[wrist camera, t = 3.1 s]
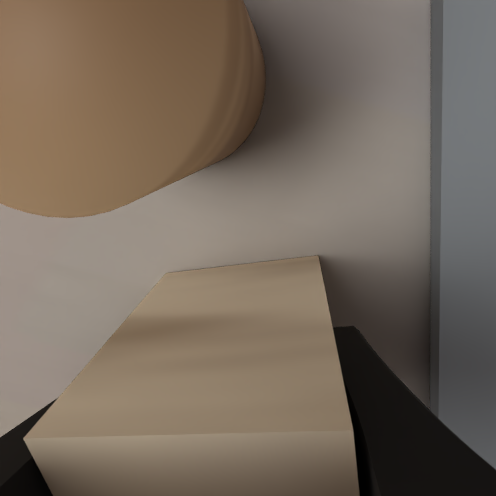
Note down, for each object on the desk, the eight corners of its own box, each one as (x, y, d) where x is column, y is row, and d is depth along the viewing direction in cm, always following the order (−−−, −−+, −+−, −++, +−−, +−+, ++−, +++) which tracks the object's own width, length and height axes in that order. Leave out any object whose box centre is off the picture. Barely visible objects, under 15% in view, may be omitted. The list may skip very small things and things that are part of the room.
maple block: (333, 385, 10) (373, 642, 5) (199, 392, 11) (118, 620, 6) (318, 255, 9) (352, 430, 4) (165, 273, 10) (23, 438, 5)
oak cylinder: (277, 153, 8) (257, 189, 4) (129, 179, 9) (-52, 237, 4) (249, -43, 7) (158, -398, 2) (78, 5, 8) (-262, -188, 3)
